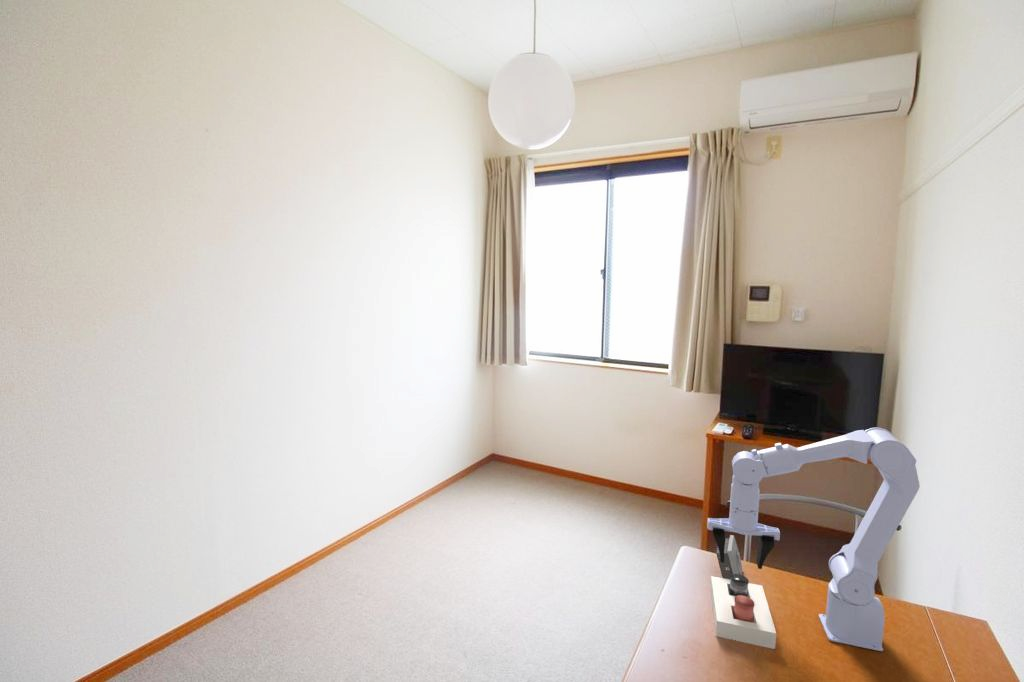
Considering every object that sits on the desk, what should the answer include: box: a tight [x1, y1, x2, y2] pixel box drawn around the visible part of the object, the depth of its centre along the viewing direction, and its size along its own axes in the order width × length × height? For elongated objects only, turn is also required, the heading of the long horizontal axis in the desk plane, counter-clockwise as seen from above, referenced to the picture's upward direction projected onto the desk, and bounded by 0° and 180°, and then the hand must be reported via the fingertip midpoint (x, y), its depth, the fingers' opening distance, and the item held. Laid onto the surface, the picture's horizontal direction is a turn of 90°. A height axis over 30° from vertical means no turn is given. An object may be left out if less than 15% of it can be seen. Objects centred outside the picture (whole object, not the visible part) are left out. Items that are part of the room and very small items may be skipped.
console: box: [709, 575, 777, 650], centre depth 105 cm, size 11×16×4 cm
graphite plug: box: [730, 574, 750, 597], centre depth 109 cm, size 4×4×4 cm
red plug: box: [734, 595, 754, 623], centre depth 101 cm, size 4×4×4 cm
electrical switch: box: [715, 534, 743, 580], centre depth 120 cm, size 9×5×9 cm, turn 152°
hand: (740, 563), depth 108 cm, fingers open, 7 cm apart
